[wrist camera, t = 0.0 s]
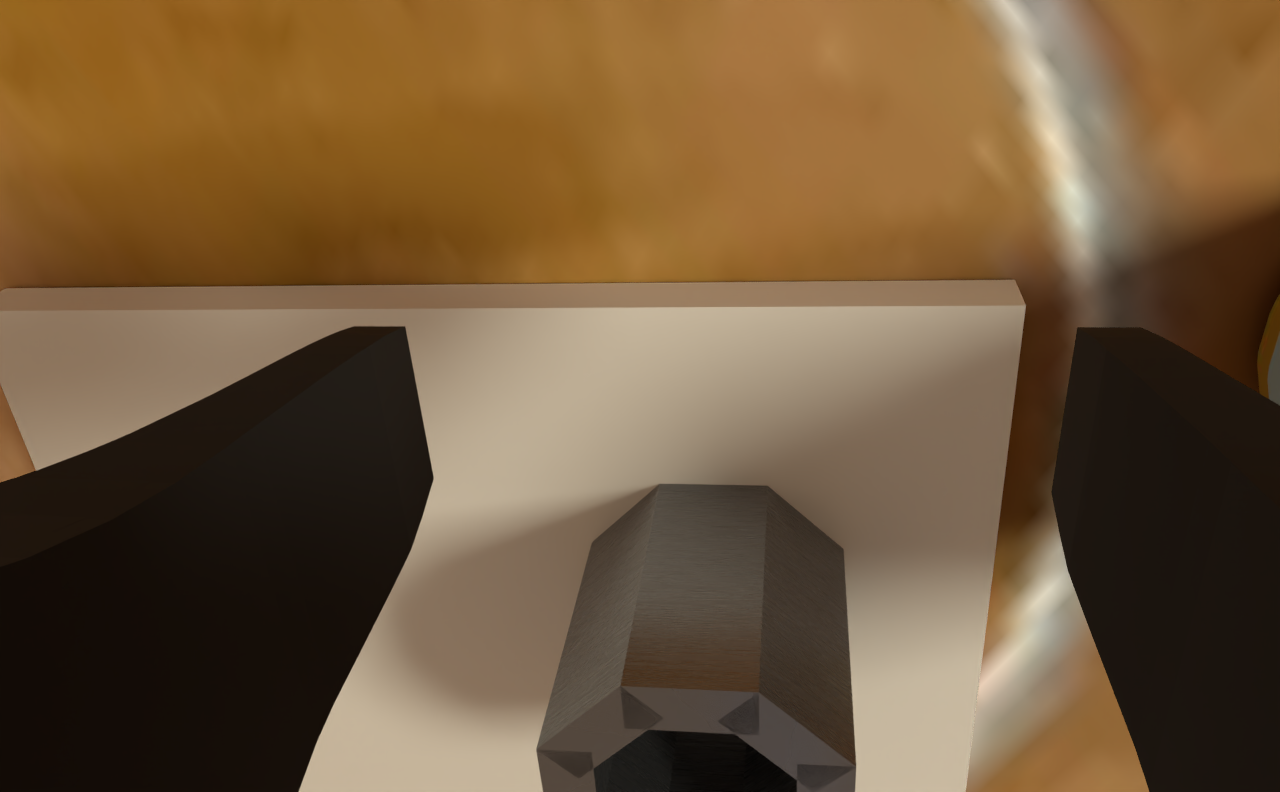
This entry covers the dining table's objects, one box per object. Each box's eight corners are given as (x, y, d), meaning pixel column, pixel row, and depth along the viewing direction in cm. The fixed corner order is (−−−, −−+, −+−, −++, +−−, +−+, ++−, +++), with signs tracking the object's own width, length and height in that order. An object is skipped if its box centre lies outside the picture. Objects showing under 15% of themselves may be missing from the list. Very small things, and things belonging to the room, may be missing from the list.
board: (951, 823, 29) (957, 861, 28) (195, 776, 32) (176, 809, 31) (1015, 279, 21) (1025, 305, 20) (4, 288, 24) (-31, 310, 23)
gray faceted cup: (838, 681, 25) (849, 913, 20) (606, 671, 26) (559, 891, 21) (845, 486, 23) (860, 696, 17) (585, 482, 23) (525, 681, 18)
